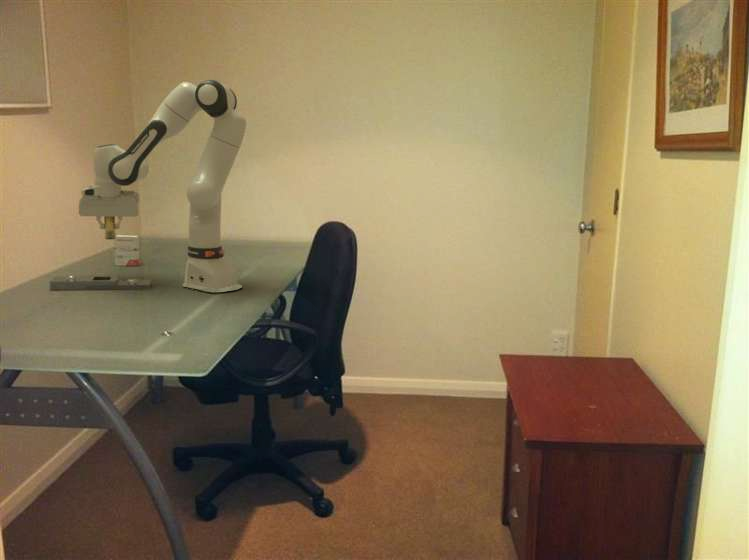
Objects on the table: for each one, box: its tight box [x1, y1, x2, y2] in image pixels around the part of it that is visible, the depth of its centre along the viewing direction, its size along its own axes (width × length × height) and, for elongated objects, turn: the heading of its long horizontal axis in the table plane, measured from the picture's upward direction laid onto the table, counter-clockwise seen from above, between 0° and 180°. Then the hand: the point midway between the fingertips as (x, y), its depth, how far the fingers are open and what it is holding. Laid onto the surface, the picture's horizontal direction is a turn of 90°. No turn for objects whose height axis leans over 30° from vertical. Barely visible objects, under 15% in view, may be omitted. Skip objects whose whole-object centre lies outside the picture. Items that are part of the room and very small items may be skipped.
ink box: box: [113, 234, 140, 267], centre depth 279 cm, size 9×5×12 cm, turn 96°
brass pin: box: [103, 216, 117, 240], centre depth 252 cm, size 4×4×8 cm
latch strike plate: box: [49, 274, 152, 291], centre depth 243 cm, size 32×8×4 cm, turn 105°
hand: (110, 228), depth 252 cm, fingers closed on brass pin, 4 cm apart
